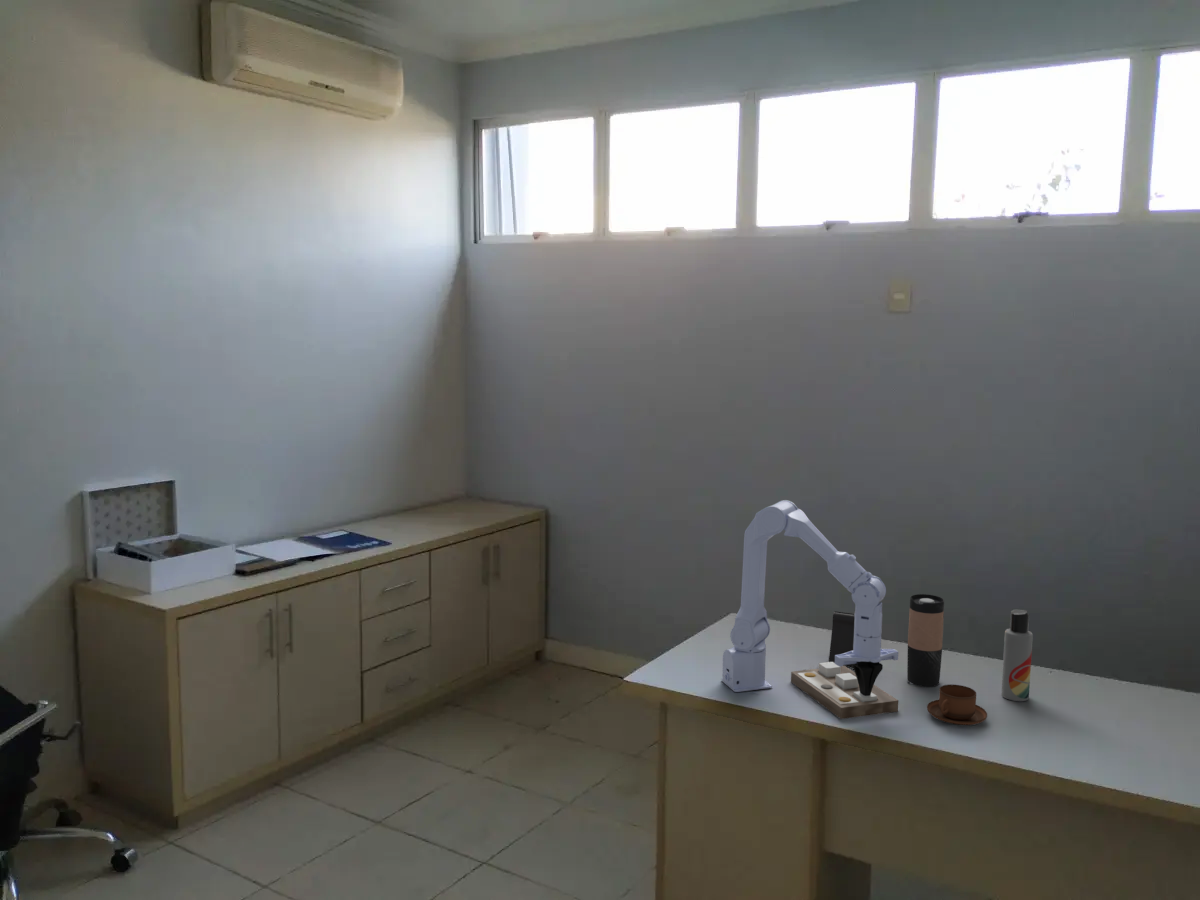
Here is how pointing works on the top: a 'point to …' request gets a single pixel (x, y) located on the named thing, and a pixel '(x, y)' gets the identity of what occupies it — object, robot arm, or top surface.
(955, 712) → the cup and saucer
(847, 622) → the phone stand
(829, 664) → the button back
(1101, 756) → the top surface
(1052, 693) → the top surface
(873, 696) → the button front
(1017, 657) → the lotion bottle
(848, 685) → the button middle
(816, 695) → the button board
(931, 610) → the travel mug
